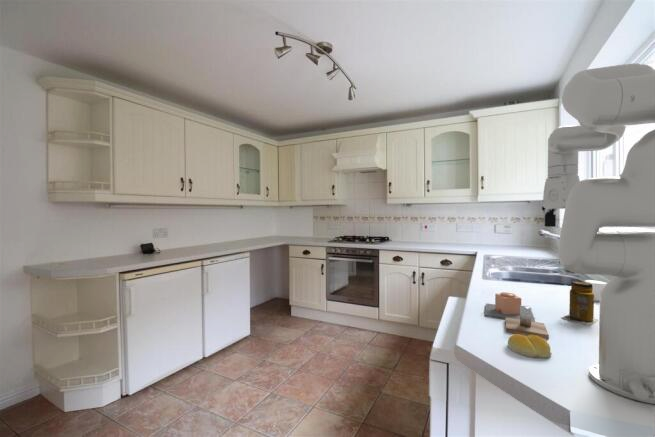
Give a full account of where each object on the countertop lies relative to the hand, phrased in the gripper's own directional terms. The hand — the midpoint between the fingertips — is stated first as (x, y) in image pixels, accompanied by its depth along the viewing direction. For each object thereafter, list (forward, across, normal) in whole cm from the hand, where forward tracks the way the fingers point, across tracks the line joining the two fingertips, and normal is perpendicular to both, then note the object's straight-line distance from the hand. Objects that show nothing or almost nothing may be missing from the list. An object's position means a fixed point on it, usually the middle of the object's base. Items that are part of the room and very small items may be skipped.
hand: (561, 227), depth 93 cm
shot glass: (+31, -26, +35) cm, 53 cm away
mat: (+30, -9, -11) cm, 33 cm away
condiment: (+31, -3, +9) cm, 32 cm away
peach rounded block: (+30, -9, -11) cm, 33 cm away
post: (+29, +5, -15) cm, 33 cm away
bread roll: (+31, +19, -23) cm, 42 cm away
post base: (+30, +5, -15) cm, 34 cm away
